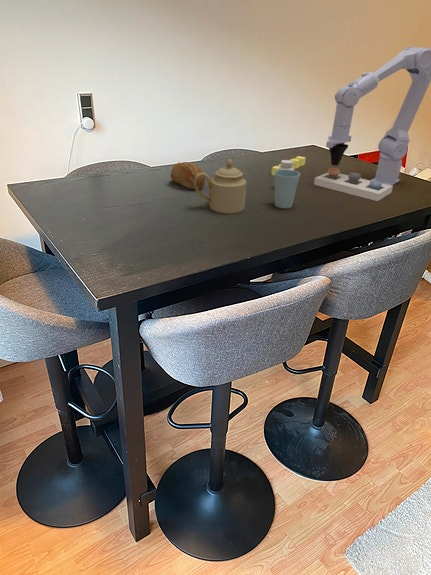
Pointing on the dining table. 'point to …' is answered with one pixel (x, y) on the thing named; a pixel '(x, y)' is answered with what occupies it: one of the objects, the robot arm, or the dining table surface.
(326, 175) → the button panel
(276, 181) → the cup
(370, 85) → the robot arm
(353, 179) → the charcoal button
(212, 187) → the sugar bowl
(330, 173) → the terracotta button
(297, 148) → the dining table surface
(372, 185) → the slate blue button
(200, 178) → the bread roll
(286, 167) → the supplement bottle
